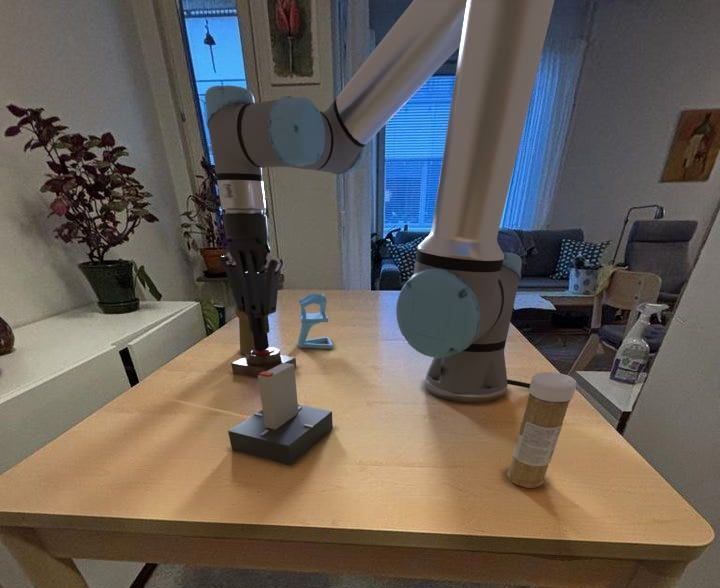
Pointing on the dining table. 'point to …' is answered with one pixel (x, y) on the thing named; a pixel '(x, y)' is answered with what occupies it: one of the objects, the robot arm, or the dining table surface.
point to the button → (263, 352)
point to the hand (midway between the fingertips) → (262, 349)
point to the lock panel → (281, 435)
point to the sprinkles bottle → (540, 427)
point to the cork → (244, 332)
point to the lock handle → (278, 395)
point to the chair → (313, 322)
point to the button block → (260, 362)
